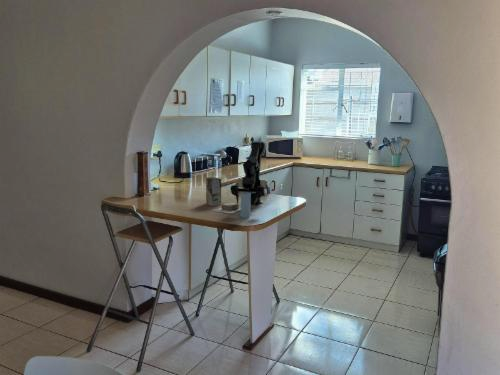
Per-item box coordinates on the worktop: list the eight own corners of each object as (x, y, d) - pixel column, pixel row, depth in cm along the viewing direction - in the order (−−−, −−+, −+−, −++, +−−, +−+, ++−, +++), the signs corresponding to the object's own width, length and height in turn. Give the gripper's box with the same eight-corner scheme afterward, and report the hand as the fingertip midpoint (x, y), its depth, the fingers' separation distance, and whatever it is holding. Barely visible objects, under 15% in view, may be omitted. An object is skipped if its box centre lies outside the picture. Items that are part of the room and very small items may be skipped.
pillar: (242, 215, 248) (242, 192, 246) (250, 215, 248) (250, 192, 245) (240, 217, 244) (241, 193, 242) (249, 217, 243) (249, 194, 241)
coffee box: (221, 205, 272) (221, 178, 269) (212, 206, 269) (212, 179, 266) (215, 202, 280) (214, 176, 277) (205, 203, 277) (205, 177, 274)
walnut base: (230, 205, 270) (230, 200, 270) (246, 208, 264) (246, 202, 263) (213, 211, 257) (213, 205, 257) (230, 214, 251) (230, 208, 250)
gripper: (231, 170, 248) (226, 194, 239) (264, 172, 244) (261, 195, 236) (234, 182, 257) (229, 205, 248) (266, 183, 254) (263, 207, 245)
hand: (245, 203), depth 244 cm, fingers open, 9 cm apart
